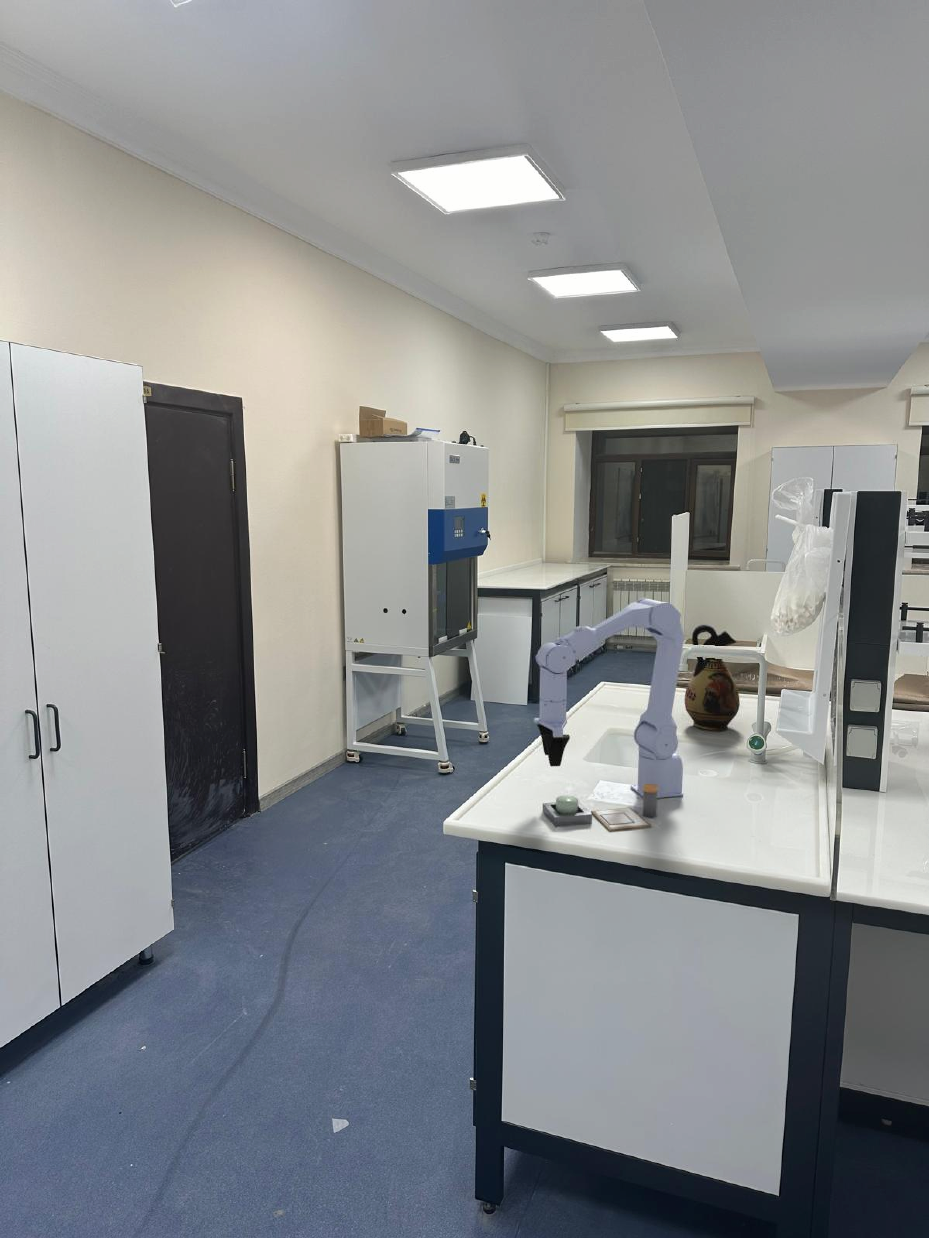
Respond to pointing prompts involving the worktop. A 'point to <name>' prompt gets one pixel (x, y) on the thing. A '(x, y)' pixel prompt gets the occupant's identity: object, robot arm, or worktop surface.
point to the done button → (566, 805)
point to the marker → (650, 800)
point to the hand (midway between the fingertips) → (552, 760)
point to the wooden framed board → (620, 819)
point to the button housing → (567, 815)
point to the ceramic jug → (712, 687)
